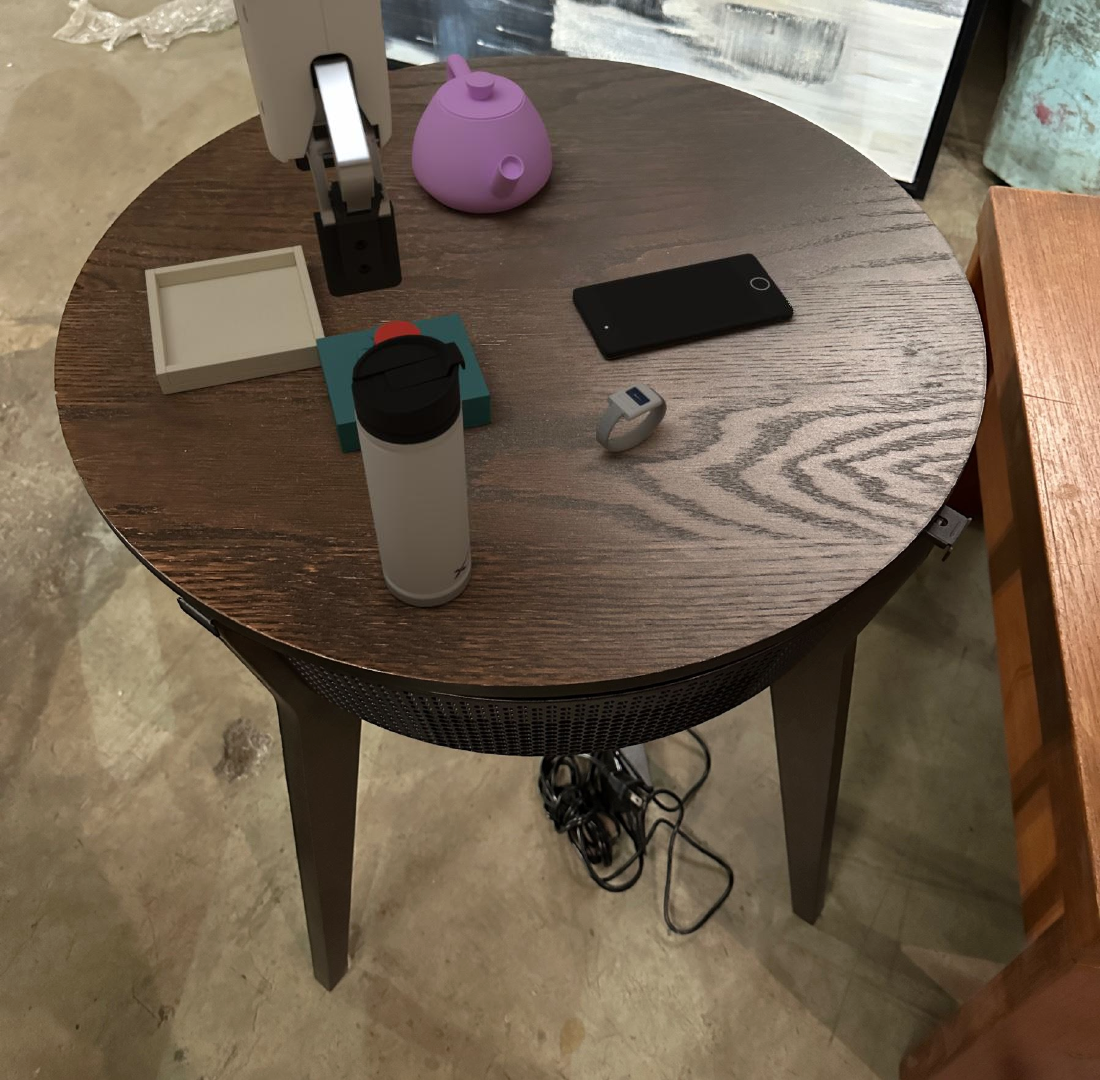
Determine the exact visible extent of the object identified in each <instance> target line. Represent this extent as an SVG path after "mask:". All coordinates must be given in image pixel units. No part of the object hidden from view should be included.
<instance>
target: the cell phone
mask: <svg viewBox="0 0 1100 1080" xmlns="http://www.w3.org/2000/svg"><path fill="white" fill-rule="evenodd" d="M768 274H769V273H768V271H767V270H766V268H765V267H764V266H763V264H761V262H760V261H759V259H758V258H757V257H756V256H755V254H753V253H750V252H749V253H742V254H737V255H732V256H728V257H727V256H726V257H722V258H717V259H712V260H707V261H702V262H698V263H693V264H688V265H683V266H677V267H673V268H667V269H663V270H657V271H653V272H647V273H643V274H638V275H634V276H627V277H623V278H619V279H613V280H609V281H603V282H598V283H594V284H593V283H592V284H589V285H584V286H580V287H575V288H574V289H573V290H572V301H573V303H574V306H575V307H576V309H577V311H578V313H579V314H580V317H581V318H582V320H583V322H584V324H585V325H586V327H587V329H588V332H589V333H590V335H591V337H592V338H593V341H594V343H595V344H596V346H597V348H598V349H599V351H600V354H601V355H602V356H603V357H604V358H605V359H607V360H611V359H615V358H619V357H624V356H628V355H632V354H636V353H641V352H646V351H650V350H654V349H655V350H656V349H660V348H664V347H669V346H673V345H674V346H675V345H678V344H682V343H683V344H684V343H687V342H691V341H697V340H700V339H705V338H709V337H710V338H711V337H714V336H719V335H723V334H727V333H732V332H737V331H742V330H746V329H751V328H755V327H759V326H763V325H769V324H772V323H778V322H783V321H789V320H792V319H793V316H794V314H795V310H793V309H794V307H793V306H792V304H791V302H789V300H788V299H787V297H786V296H785V294H784V293H783V292H782V291H781V289H780V288H779V287H778V285H777V284H776V283H775V281H774V280H773V278H772V277H771V276H770V274H769V275H768ZM771 278H772V279H771ZM786 299H787V300H786ZM788 302H789V303H788ZM789 304H790V305H791V306H790V305H789ZM792 307H793V308H792ZM793 311H794V312H793Z"/></svg>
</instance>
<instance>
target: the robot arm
mask: <svg viewBox="0 0 1100 1080" xmlns="http://www.w3.org/2000/svg"><path fill="white" fill-rule="evenodd" d="M232 1H233V6H234V10H235V14H236V19H237V24H238V27H239V32H240V35H241V40H242V46H243V50H244V54H245V59H246V63H247V67H248V71H249V76H250V80H251V84H252V87H253V93H254V96H255V100H256V104H257V109H258V112H259V116H260V121H261V125H262V129H263V133H264V137H265V140H266V145H267V148H268V151H269V153H270V154H271V155H272V157H274V158H275V159H276V160H278V161H279V162H281V163H290V160H294V163H295V165H296V168H297V169H298V170H299V171H301V172H310V174H311V177H312V182H313V187H314V191H315V195H316V201H317V205H318V210H319V211H315V212H313V218H314V224H315V229H316V234H317V239H318V245H319V250H320V254H321V260H322V265H323V266H322V267H323V271H324V275H325V281H326V286H327V289H328V293H329V294H330V296H332V297H336V298H342V297H347V296H353V295H358V294H364V293H369V292H375V291H380V290H386V289H387V290H388V289H392V288H397V287H398V286H400V284H402V280H403V275H402V268H401V259H400V252H399V251H400V250H399V242H398V234H397V226H396V219H395V209H394V205H393V202H392V200H390V199H389V194H388V189H387V183H386V178H385V174H384V173H385V172H384V169H383V164H382V163H383V162H382V159H381V155H380V154H381V153H380V149H382V148H384V147H385V145H387V143H389V141H390V139H391V137H392V134H393V124H392V122H393V121H392V106H391V105H392V104H391V92H390V83H389V82H390V79H389V72H388V60H387V51H386V40H385V31H384V30H385V29H384V22H383V12H382V3H381V0H232ZM331 168H334V169H335V175H336V179H337V180H335V181H331V182H330V186H329V181H328V176H327V172H326V169H331Z"/></svg>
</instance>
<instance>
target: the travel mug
mask: <svg viewBox="0 0 1100 1080" xmlns="http://www.w3.org/2000/svg"><path fill="white" fill-rule="evenodd" d="M459 364H460V365H461V367H462V369H463V370H464V369H465V361H464V357H463V355H462V353H461V351H460V349H459V348H458V346H457V345H456V343H455V342H450V343H446V344H445V343H443V342H442V341H440V340H438V339H436V338H433V337H430V336H424V335H402V336H397V337H393V338H389V339H387V340H385V341H382V342H380V343H378V344H376V345H375V346H373V347H371V348H370V349H369V350H368V351H366V352H365V353H364V354H363V355H362V356H361V357H360V359H359V360H358V361H357V363H356V364H355V366H354V368H353V375H352V381H353V382H352V385H351V388H352V394H353V400H354V404H355V405H354V406H355V417H356V421H357V428H358V434H359V439H360V445H361V449H360V450H361V455H362V462H363V467H364V473H365V478H366V484H367V489H368V495H369V501H370V506H371V512H372V517H373V524H374V530H375V534H376V535H375V536H376V541H377V546H378V552H379V557H380V563H381V569H382V575H383V579H384V584H385V585H386V587H387V589H388V590H389V592H390V593H391V594H392V596H394V597H395V598H396V599H397V600H399V601H401V602H403V603H405V604H407V605H410V606H414V607H422V608H426V607H427V608H428V607H429V608H430V607H437V606H441V605H444V604H446V603H449V602H451V601H452V600H454V599H455V598H457V597H458V596H459V595H460V594H462V592H463V591H464V590H465V589H466V588H467V586H468V584H469V582H470V580H471V578H472V573H473V571H472V569H473V568H472V554H471V535H470V519H469V502H468V487H467V486H468V485H467V470H466V454H465V452H466V451H465V436H464V435H465V434H464V429H463V418H462V401H461V398H460V384H459Z"/></svg>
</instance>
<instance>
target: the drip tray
mask: <svg viewBox="0 0 1100 1080" xmlns="http://www.w3.org/2000/svg"><path fill="white" fill-rule="evenodd" d="M144 275H145V285H146V292H147V293H146V295H147V304H148V312H149V321H150V331H151V341H152V351H153V359H154V367H155V376H156V378H157V381H158V383H159V386H160V389H161V392H162V394H163V396H164V395H171V394H175V393H181V392H186V391H191V390H198V389H202V388H203V389H204V388H208V387H213V386H219V385H224V384H230V383H235V382H242V381H247V380H251V379H257V378H263V377H269V376H273V375H280V374H284V373H285V374H286V373H290V372H296V371H302V370H307V369H311V368H318V367H321V363H320V358H319V353H318V348H317V343H316V339H319V338H324V337H326V336H325V332H324V329H323V325H322V320H321V316H320V313H319V310H318V309H319V308H318V304H317V301H316V297H315V293H314V290H313V286H312V282H311V279H310V278H311V277H310V274H309V271H308V265H307V263H306V258H305V255H304V251H303V247H302V245H294V246H288V247H282V248H276V249H269V250H263V251H257V252H251V253H245V254H238V255H232V256H226V257H219V258H214V259H207V260H200V261H194V262H188V263H182V264H176V265H170V266H169V265H168V266H164V267H156V268H150V269H145V270H144Z"/></svg>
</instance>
